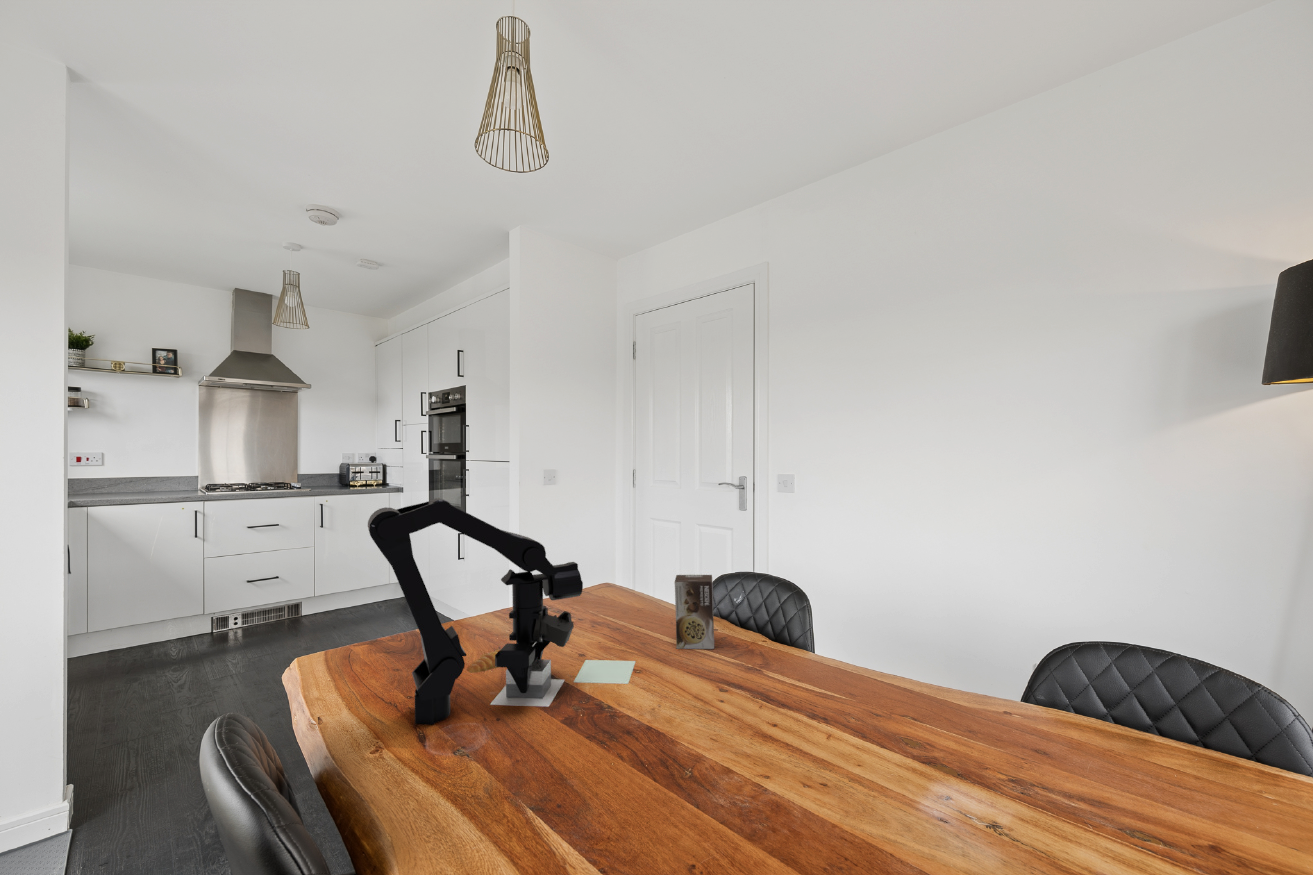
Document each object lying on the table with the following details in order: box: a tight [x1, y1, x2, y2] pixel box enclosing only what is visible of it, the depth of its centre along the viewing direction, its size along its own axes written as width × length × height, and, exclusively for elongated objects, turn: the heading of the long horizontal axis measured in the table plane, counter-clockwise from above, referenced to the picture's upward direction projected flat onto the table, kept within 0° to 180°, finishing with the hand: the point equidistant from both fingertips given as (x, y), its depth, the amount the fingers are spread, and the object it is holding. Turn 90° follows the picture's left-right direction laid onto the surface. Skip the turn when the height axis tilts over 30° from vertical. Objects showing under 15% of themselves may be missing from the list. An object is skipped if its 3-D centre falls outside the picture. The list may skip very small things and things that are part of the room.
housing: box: [505, 658, 552, 698], centre depth 105 cm, size 6×7×5 cm
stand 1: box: [489, 678, 565, 708], centre depth 104 cm, size 11×11×2 cm
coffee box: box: [674, 574, 715, 650], centre depth 131 cm, size 9×6×16 cm
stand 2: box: [573, 659, 636, 685], centre depth 113 cm, size 11×11×2 cm
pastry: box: [466, 648, 502, 674], centre depth 118 cm, size 9×7×4 cm
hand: (529, 685), depth 104 cm, fingers closed on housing, 5 cm apart
